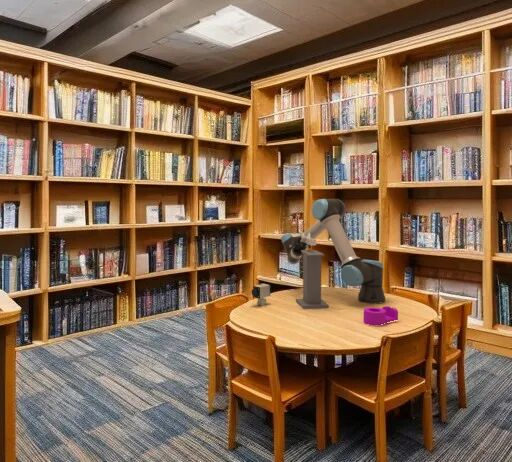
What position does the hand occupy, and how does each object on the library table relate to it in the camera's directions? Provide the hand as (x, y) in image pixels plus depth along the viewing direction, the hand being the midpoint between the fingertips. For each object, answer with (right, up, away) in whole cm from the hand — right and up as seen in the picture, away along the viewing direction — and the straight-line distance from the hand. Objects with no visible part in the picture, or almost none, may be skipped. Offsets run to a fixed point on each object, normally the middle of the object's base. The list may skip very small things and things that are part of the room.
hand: (306, 235), depth 237 cm
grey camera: (-26, -39, -8) cm, 47 cm away
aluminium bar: (+1, -5, -3) cm, 5 cm away
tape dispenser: (+30, -41, -39) cm, 64 cm away
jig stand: (+2, -38, -8) cm, 39 cm away
